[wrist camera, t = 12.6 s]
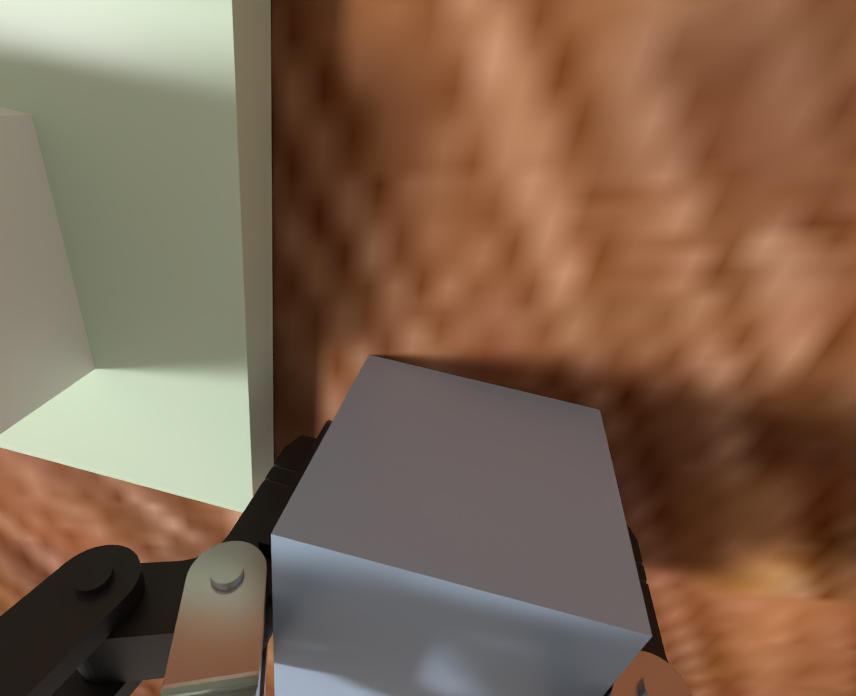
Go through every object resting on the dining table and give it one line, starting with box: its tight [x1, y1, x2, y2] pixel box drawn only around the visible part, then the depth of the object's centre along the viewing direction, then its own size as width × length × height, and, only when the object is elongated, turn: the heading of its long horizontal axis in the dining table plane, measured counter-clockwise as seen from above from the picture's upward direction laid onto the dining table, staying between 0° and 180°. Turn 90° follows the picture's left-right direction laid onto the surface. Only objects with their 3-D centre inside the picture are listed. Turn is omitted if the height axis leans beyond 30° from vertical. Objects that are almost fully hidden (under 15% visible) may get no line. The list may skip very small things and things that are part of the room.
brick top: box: [271, 355, 652, 696], centre depth 10 cm, size 5×5×5 cm
